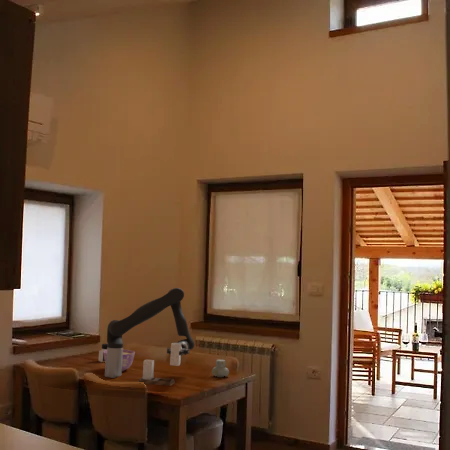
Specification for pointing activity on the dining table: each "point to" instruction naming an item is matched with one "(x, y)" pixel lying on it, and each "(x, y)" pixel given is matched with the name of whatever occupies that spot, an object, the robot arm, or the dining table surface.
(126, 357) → the bowl of food
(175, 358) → the block
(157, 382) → the pallet
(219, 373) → the air freshener
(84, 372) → the dining table surface
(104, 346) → the medicine bottle
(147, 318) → the robot arm
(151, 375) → the block
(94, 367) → the dining table surface
